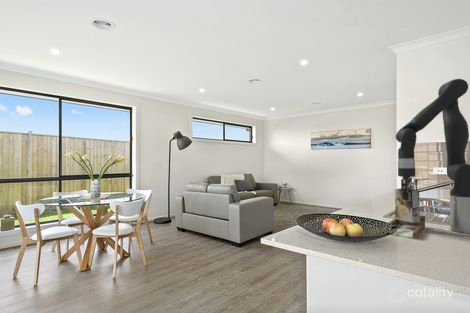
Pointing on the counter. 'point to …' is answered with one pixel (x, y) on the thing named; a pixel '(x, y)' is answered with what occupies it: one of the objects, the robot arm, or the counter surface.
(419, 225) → the rack bay
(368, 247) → the counter surface
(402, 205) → the coffee box
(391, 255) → the counter surface
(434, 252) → the counter surface
